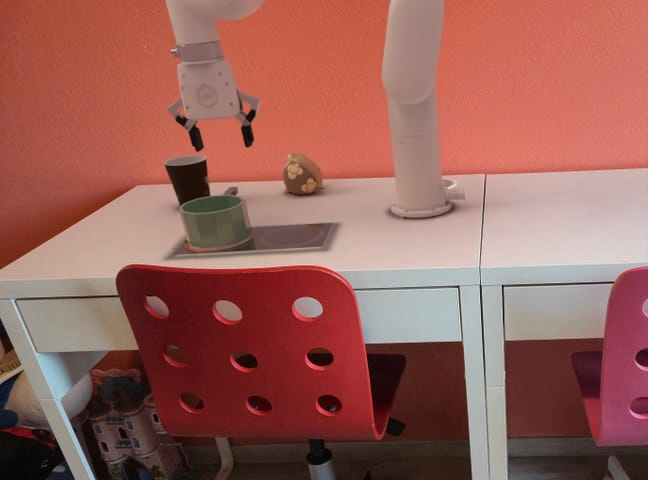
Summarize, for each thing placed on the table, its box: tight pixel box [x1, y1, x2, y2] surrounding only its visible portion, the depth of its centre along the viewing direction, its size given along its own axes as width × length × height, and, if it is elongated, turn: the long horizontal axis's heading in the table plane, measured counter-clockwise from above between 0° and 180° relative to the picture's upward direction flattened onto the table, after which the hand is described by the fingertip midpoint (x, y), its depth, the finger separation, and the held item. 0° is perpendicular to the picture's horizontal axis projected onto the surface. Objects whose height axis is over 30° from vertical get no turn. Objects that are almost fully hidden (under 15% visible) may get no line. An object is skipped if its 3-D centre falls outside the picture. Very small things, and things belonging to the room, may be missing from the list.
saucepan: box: [178, 186, 252, 251], centre depth 136 cm, size 11×20×7 cm, turn 3°
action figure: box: [282, 152, 324, 196], centre depth 161 cm, size 10×11×15 cm
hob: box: [167, 222, 334, 258], centre depth 134 cm, size 28×14×1 cm, turn 92°
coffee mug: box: [163, 155, 211, 207], centre depth 155 cm, size 12×9×10 cm
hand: (224, 148), depth 138 cm, fingers open, 9 cm apart
